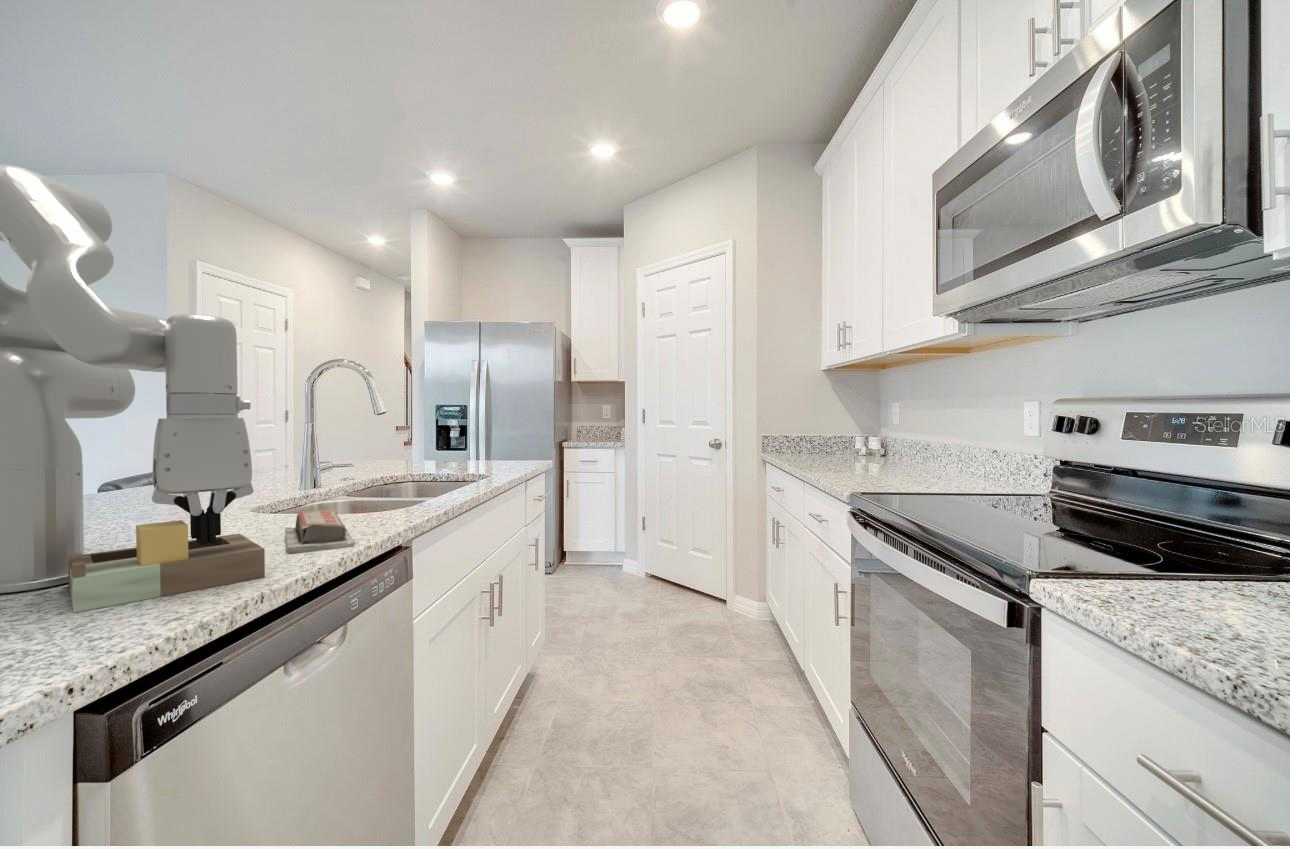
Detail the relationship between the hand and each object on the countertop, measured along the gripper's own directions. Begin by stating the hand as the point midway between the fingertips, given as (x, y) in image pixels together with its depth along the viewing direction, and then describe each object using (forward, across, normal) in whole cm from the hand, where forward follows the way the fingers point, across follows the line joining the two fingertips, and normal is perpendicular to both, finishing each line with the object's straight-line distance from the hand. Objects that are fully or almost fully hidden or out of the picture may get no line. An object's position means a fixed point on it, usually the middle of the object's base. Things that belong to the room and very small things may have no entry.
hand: (206, 542), depth 73 cm
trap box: (+5, +3, -4) cm, 7 cm away
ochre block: (+1, +4, 0) cm, 5 cm away
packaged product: (+6, -19, -16) cm, 25 cm away
